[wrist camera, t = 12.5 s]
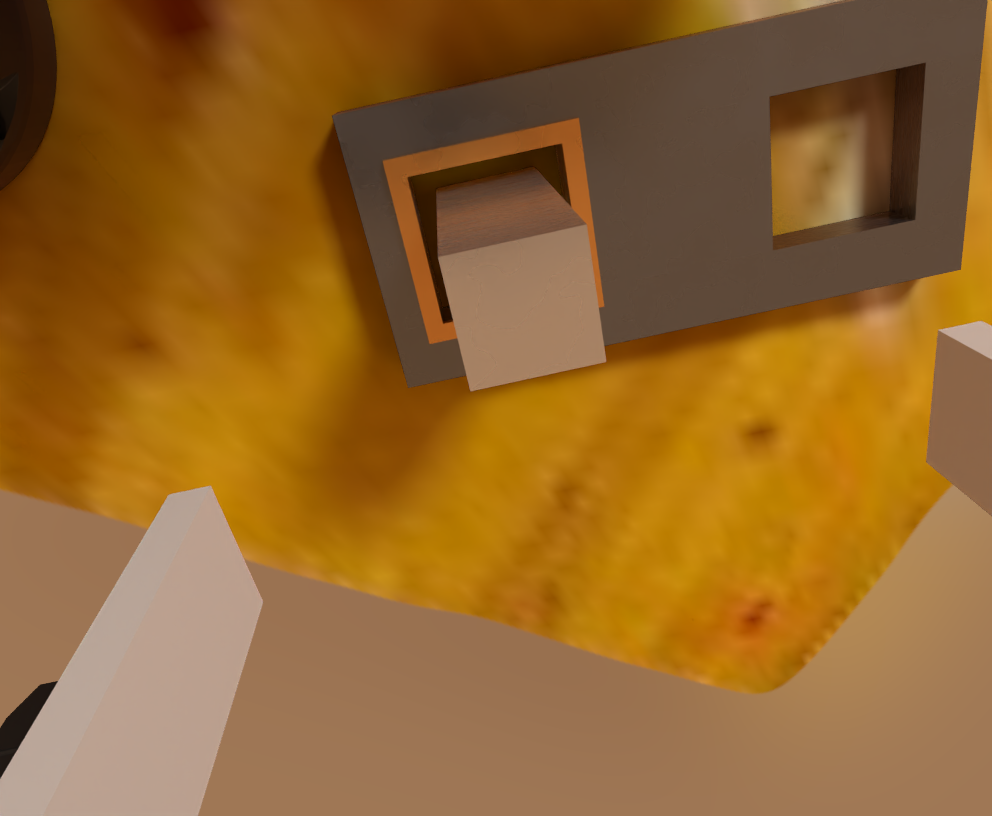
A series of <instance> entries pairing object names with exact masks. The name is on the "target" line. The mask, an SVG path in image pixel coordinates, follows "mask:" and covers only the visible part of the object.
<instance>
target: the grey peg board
mask: <svg viewBox="0 0 992 816" xmlns="http://www.w3.org/2000/svg"><path fill="white" fill-rule="evenodd" d="M986 9H987V0H843V1H838V2H834V3H829V4H825V5H820V6H816V7H811V8H807V9H802V10H798V11H793V12H789V13H784V14H780V15H775V16H771V17H766V18H762V19H757V20H752V21H748V22H743V23H739V24H734V25H730V26H725V27H721V28H716V29H712V30H707V31H703V32H698V33H694V34H689V35H685V36H680V37H676V38H671V39H667V40H662V41H658V42H653V43H648V44H644V45H639V46H635V47H630V48H626V49H621V50H617V51H612V52H608V53H603V54H599V55H594V56H590V57H585V58H581V59H576V60H572V61H567V62H563V63H558V64H553V65H549V66H544V67H540V68H535V69H531V70H526V71H522V72H517V73H513V74H508V75H504V76H499V77H495V78H490V79H486V80H481V81H477V82H472V83H468V84H463V85H459V86H454V87H449V88H445V89H440V90H436V91H431V92H427V93H422V94H418V95H413V96H409V97H404V98H400V99H395V100H391V101H386V102H382V103H377V104H373V105H368V106H364V107H359V108H354V109H350V110H345V111H341V112H337V113H336V114H334V115H332V118H333V121H334V125H335V128H336V132H337V135H338V139H339V142H340V146H341V150H342V153H343V157H344V160H345V164H346V167H347V171H348V175H349V178H350V182H351V185H352V189H353V192H354V196H355V200H356V203H357V207H358V210H359V214H360V217H361V221H362V225H363V228H364V232H365V235H366V239H367V242H368V246H369V249H370V253H371V257H372V260H373V264H374V267H375V271H376V274H377V278H378V282H379V285H380V289H381V292H382V296H383V299H384V303H385V307H386V310H387V314H388V317H389V321H390V324H391V328H392V332H393V335H394V339H395V342H396V346H397V349H398V353H399V356H400V360H401V364H402V367H403V371H404V374H405V378H406V381H407V385H408V388H410V387H415V386H419V385H424V384H429V383H433V382H438V381H443V380H447V379H452V378H457V377H461V376H466V371H465V367H464V363H463V359H462V355H461V351H460V347H459V342H458V338H457V334H456V330H455V326H454V322H453V318H452V313H451V309H450V306H448V307H443V308H442V304H441V300H440V296H439V292H438V287H437V283H436V279H435V275H434V271H433V267H432V263H431V259H430V254H429V250H428V246H427V242H426V238H425V234H424V230H423V226H422V222H421V217H420V213H419V209H418V205H417V201H416V197H415V193H414V189H413V184H412V180H411V176H415V175H419V174H424V173H428V172H433V171H438V170H442V169H447V168H451V167H456V166H460V165H465V164H470V163H474V162H479V161H483V160H488V159H492V158H497V157H501V156H506V155H511V154H515V153H520V152H524V151H529V150H533V149H538V148H543V147H547V146H552V145H555V150H556V156H557V163H558V169H559V176H560V183H561V189H562V196H563V199H564V200H565V201H566V202H567V203H568V204H569V205H570V206H571V208H572V209H573V210H574V211H575V212H576V213H577V214H578V215H579V216H580V217H581V219H582V220H583V221H584V222H585V223H586V224H587V229H588V236H589V243H590V250H591V257H592V264H593V271H594V278H595V285H596V292H597V299H598V306H599V313H600V320H601V327H602V334H603V341H604V346H606V345H611V344H616V343H620V342H625V341H630V340H634V339H639V338H644V337H648V336H653V335H658V334H662V333H667V332H672V331H676V330H681V329H686V328H690V327H695V326H700V325H704V324H709V323H714V322H718V321H723V320H728V319H732V318H737V317H742V316H746V315H751V314H756V313H760V312H765V311H770V310H774V309H779V308H784V307H788V306H793V305H798V304H802V303H807V302H812V301H816V300H821V299H826V298H830V297H835V296H840V295H844V294H849V293H854V292H858V291H863V290H868V289H872V288H877V287H882V286H886V285H891V284H896V283H900V282H905V281H910V280H914V279H919V278H924V277H928V276H933V275H938V274H943V273H947V272H952V271H957V270H961V262H962V251H963V241H964V231H965V221H966V211H967V201H968V191H969V181H970V171H971V160H972V150H973V140H974V130H975V120H976V110H977V100H978V90H979V80H980V70H981V59H982V49H983V39H984V29H985V19H986ZM893 69H897V75H896V95H895V115H894V134H893V154H892V173H891V193H890V211H888V212H883V213H878V214H874V215H869V216H865V217H860V218H855V219H851V220H846V221H841V222H837V223H832V224H828V225H823V226H818V227H814V228H809V229H804V230H800V231H795V232H790V233H786V234H781V235H777V236H773V232H772V188H771V143H770V99H769V97H770V96H775V95H779V94H784V93H789V92H793V91H798V90H802V89H807V88H811V87H816V86H820V85H825V84H830V83H834V82H839V81H843V80H848V79H852V78H857V77H862V76H866V75H871V74H875V73H880V72H884V71H889V70H893Z"/></svg>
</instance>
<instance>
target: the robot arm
mask: <svg viewBox="0 0 992 816" xmlns="http://www.w3.org/2000/svg"><path fill="white" fill-rule="evenodd" d="M56 72H57V64H56V47H55V38H54V32H53V26H52V21H51V17H50V12H49V8H48V4H47V1H46V0H0V190H1V189H2V188H4V187H5V186H6V185H7V184H9V183H10V182H11V181H12V180H13V179H14V178H15V177H16V176H17V175H18V174H19V173H20V172H21V171H22V170H23V168H24V167H25V166H26V165H27V163H28V162H29V161H30V159H31V158H32V156H33V155H34V153H35V151H36V150H37V148H38V146H39V144H40V142H41V140H42V138H43V136H44V133H45V131H46V128H47V126H48V122H49V119H50V115H51V112H52V107H53V102H54V97H55V88H56ZM926 462H927V463H928V464H929V465H930V466H932V467H933V468H934V469H935V470H936V471H938V472H939V473H940V474H941V475H943V476H944V477H945V478H946V479H947V480H949V481H950V482H951V483H952V484H953V485H955V486H956V487H957V488H958V489H960V490H961V491H962V492H963V493H964V494H966V495H967V496H968V497H969V498H970V499H972V500H973V501H974V502H975V503H976V504H978V505H979V506H980V507H981V508H982V509H984V510H985V511H986V512H988V513H989V514H990V515H991V516H992V326H991V325H989V324H987V323H984V322H982V321H979V322H974V323H969V324H965V325H960V326H955V327H951V328H946V329H941V330H938V338H937V349H936V360H935V371H934V382H933V393H932V404H931V415H930V426H929V437H928V448H927V459H926ZM262 604H263V600H262V598H261V596H260V594H259V592H258V590H257V587H256V585H255V583H254V581H253V579H252V576H251V574H250V572H249V570H248V567H247V565H246V563H245V561H244V558H243V556H242V554H241V552H240V550H239V547H238V545H237V543H236V541H235V539H234V536H233V534H232V532H231V530H230V528H229V525H228V523H227V521H226V519H225V516H224V514H223V512H222V510H221V508H220V505H219V503H218V501H217V499H216V497H215V494H214V492H213V490H212V488H211V486H207V487H202V488H198V489H193V490H188V491H184V492H179V493H174V494H170V495H168V497H167V499H166V500H165V502H164V504H163V505H162V507H161V509H160V510H159V512H158V514H157V515H156V517H155V519H154V521H153V522H152V524H151V526H150V527H149V529H148V531H147V532H146V534H145V536H144V537H143V539H142V541H141V542H140V544H139V546H138V548H137V550H136V551H135V553H134V554H133V556H132V558H131V559H130V561H129V563H128V565H127V566H126V568H125V569H124V571H123V573H122V575H121V576H120V578H119V580H118V581H117V583H116V585H115V586H114V588H113V590H112V591H111V593H110V595H109V596H108V598H107V600H106V602H105V603H104V605H103V607H102V608H101V610H100V612H99V614H98V615H97V617H96V618H95V620H94V622H93V624H92V625H91V627H90V628H89V630H88V632H87V634H86V635H85V637H84V639H83V640H82V642H81V644H80V645H79V647H78V649H77V650H76V652H75V654H74V655H73V657H72V659H71V661H70V662H69V664H68V666H67V667H66V669H65V671H64V672H63V674H62V676H61V677H60V679H59V681H56V682H51V683H46V684H41V685H40V686H38V688H36V689H35V690H34V691H33V692H32V693H31V694H30V695H29V696H28V698H26V699H25V700H24V701H23V702H22V703H21V704H20V705H19V706H18V707H17V708H16V709H15V710H14V711H13V712H12V713H11V714H10V715H9V716H8V717H7V718H6V720H5V722H4V723H3V725H2V726H1V728H0V816H198V814H199V810H200V807H201V804H202V801H203V797H204V794H205V791H206V787H207V784H208V781H209V777H210V774H211V771H212V768H213V765H214V761H215V758H216V755H217V751H218V748H219V745H220V742H221V738H222V735H223V732H224V729H225V725H226V722H227V719H228V715H229V712H230V709H231V706H232V702H233V699H234V695H235V693H236V689H237V686H238V683H239V679H240V676H241V673H242V669H243V666H244V663H245V659H246V657H247V653H248V650H249V647H250V643H251V640H252V637H253V634H254V630H255V627H256V624H257V621H258V617H259V614H260V610H261V607H262Z"/></svg>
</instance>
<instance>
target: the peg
mask: <svg viewBox="0 0 992 816" xmlns="http://www.w3.org/2000/svg"><path fill="white" fill-rule="evenodd" d="M436 201H437V240H438V260H439V264H440V268H441V272H442V276H443V280H444V284H445V289H446V293H447V297H448V301H449V305H450V309H451V313H452V318H453V322H454V326H455V330H456V334H457V338H458V342H459V347H460V351H461V355H462V359H463V363H464V367H465V371H466V375H467V380H468V384H469V388H470V391H475V390H479V389H484V388H489V387H493V386H498V385H502V384H507V383H512V382H516V381H521V380H525V379H530V378H535V377H539V376H544V375H548V374H553V373H558V372H562V371H567V370H571V369H576V368H581V367H585V366H590V365H594V364H599V363H604V362H606V355H605V348H604V341H603V334H602V327H601V320H600V313H599V306H598V299H597V292H596V285H595V278H594V271H593V264H592V257H591V250H590V243H589V236H588V229H587V224H586V223H585V222H584V221H583V220H582V219H581V217H580V216H579V215H578V214H577V213H576V212H575V211H574V210H573V209H572V208H571V206H570V205H569V204H568V203H567V202H566V201H565V200H564V199H563V198H562V197H561V195H560V194H559V193H558V192H557V191H556V190H555V189H554V188H553V187H552V186H551V184H550V183H549V182H548V181H547V180H546V179H545V178H544V177H543V176H542V175H541V173H540V172H539V171H538V170H537V169H536V168H535V167H530V168H525V169H521V170H516V171H512V172H507V173H503V174H498V175H494V176H490V177H485V178H481V179H476V180H472V181H467V182H463V183H458V184H454V185H449V186H445V187H440V188H436Z"/></svg>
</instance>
